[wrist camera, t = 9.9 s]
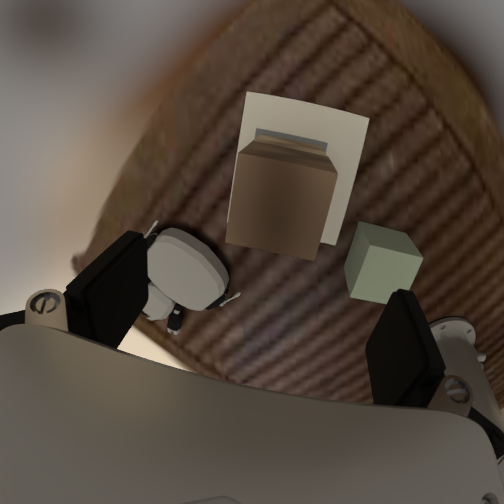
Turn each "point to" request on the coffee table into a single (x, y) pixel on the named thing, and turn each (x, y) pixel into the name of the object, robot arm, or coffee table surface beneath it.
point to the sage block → (380, 263)
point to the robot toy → (182, 276)
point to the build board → (310, 141)
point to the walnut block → (280, 200)
